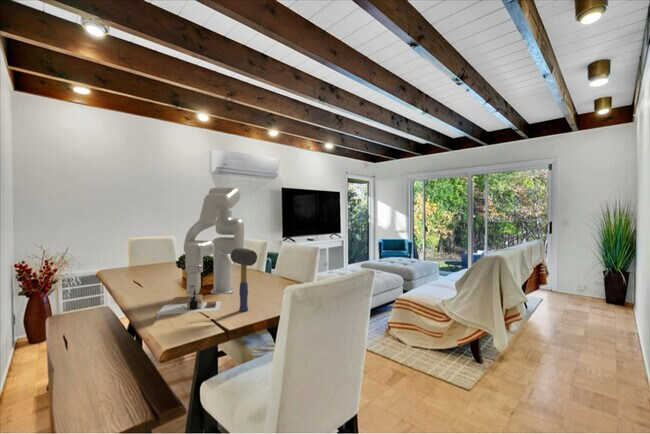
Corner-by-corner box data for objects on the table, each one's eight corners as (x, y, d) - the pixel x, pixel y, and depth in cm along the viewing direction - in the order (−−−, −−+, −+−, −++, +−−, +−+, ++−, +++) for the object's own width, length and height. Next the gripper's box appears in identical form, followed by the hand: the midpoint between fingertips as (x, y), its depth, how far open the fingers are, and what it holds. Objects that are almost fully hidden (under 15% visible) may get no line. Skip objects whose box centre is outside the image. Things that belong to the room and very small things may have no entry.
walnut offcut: (207, 305, 145) (207, 302, 145) (216, 304, 146) (216, 301, 146) (206, 307, 142) (206, 304, 142) (215, 307, 143) (215, 304, 143)
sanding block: (188, 306, 144) (188, 295, 144) (202, 305, 145) (202, 294, 145) (186, 309, 139) (186, 298, 139) (200, 308, 141) (200, 297, 140)
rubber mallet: (258, 314, 137) (258, 249, 136) (244, 319, 131) (244, 250, 131) (243, 308, 145) (243, 246, 144) (229, 312, 140) (229, 248, 139)
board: (164, 308, 145) (164, 305, 145) (221, 304, 152) (221, 301, 152) (156, 318, 132) (156, 315, 132) (218, 313, 138) (218, 310, 138)
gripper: (189, 265, 149) (189, 302, 150) (181, 273, 133) (182, 314, 133) (205, 265, 151) (205, 301, 151) (200, 272, 134) (200, 312, 135)
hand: (194, 306), depth 142 cm, fingers closed on sanding block, 5 cm apart
